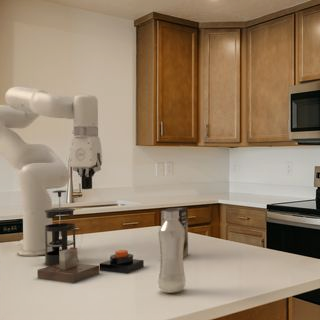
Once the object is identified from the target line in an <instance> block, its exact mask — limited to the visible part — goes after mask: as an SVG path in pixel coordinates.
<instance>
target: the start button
mask: <svg viewBox="0 0 320 320" xmlns="http://www.w3.org/2000/svg"><path fill="white" fill-rule="evenodd" d="M114 253H115V254H114V255H115V257H127V256H128V254H129V251H128V250H127V249H119V250H116V251H115V252H114Z"/></svg>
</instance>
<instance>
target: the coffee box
mask: <svg viewBox="0 0 320 320" xmlns="http://www.w3.org/2000/svg"><path fill="white" fill-rule="evenodd" d="M167 210H178V211H179V216H180V218H179V219H178V220H179V222H180V223H181V224H182V226H183V227H184V229H185V239H184V247H183V259H184V258H185V257H187V256H188V255H189V224H188V223H189V220H188V215H189V213H188V211H189V210H188V207H168V208H166V209H161V211H160V213H161V214H160V215H161V218H160V219H161V221H160V224H161V225H160V227H161V226H162V224H163V223H164V221H165V219H164V211H167Z"/></svg>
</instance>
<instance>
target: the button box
mask: <svg viewBox="0 0 320 320" xmlns="http://www.w3.org/2000/svg"><path fill="white" fill-rule="evenodd" d="M144 265H145V260H144V259H134V254H133V253H128V256H127V257H115V254H112V255H110V256H109V260H106V261H105V260H104V261H102V262H100V263H99V264H98V266H99V272H107V273H117V274H125V275H128V274H130V273H133V272H136V271H138V270H141V269H143V268H145V266H144Z"/></svg>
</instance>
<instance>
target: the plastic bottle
mask: <svg viewBox="0 0 320 320" xmlns="http://www.w3.org/2000/svg"><path fill="white" fill-rule="evenodd" d="M179 218H180V216H179V211H178V210H167V211H164V219H165V221H164V223H163V224H162V226H161V225H160V227H159V230H158V233H157V234H158V241H159V248H160V250H159V251H160V266H159V274H158V280H157V283H158V288H159V290H160V291H161V292H162V293H166V294H167V293H169V294H171V293H179V292H182V291H183V290H184V288H185V287H186V273H185V267H184V266H185V265H184V258H183V247H184V239H185V229H184V227H183V226H182V224H181V223H180V222H179V220H178V219H179Z"/></svg>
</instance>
